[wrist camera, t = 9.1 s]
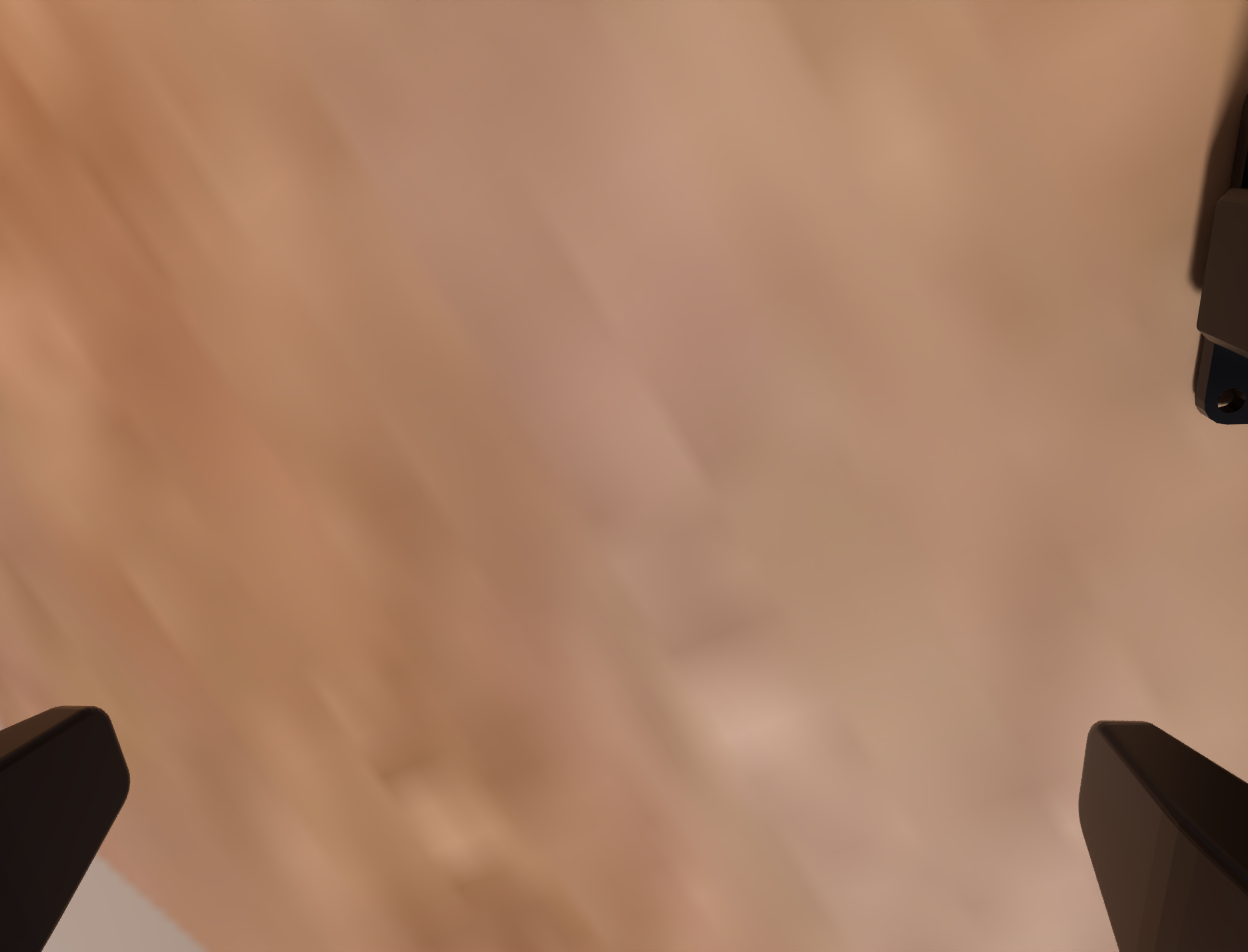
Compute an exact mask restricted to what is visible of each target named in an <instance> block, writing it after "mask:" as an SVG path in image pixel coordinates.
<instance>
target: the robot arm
mask: <svg viewBox="0 0 1248 952" xmlns="http://www.w3.org/2000/svg"><path fill="white" fill-rule="evenodd" d="M1197 329H1198V330H1199V331H1200V332H1201V333H1202V334H1203V335H1204V336H1205V338H1204V344H1203V350H1202V356H1201V362H1200V368H1199V374H1198V380H1197V386H1196V392H1195V405H1196V407H1197V409H1198V410H1199V412H1200V413H1202V414H1203V415H1205V416H1206V417H1208V418H1210V419H1211V420H1213V421H1215V422H1216V423H1220V424H1227V425H1229V424H1248V95H1247V97H1246V100H1245V102H1244V105H1243V110H1242V116H1241V122H1240V128H1239V134H1238V140H1237V146H1236V152H1235V158H1234V164H1233V170H1232V176H1231V182H1230V188H1229V190H1228V191H1227V192H1226V193H1225V194H1224V195H1223V196H1222V197H1221V198H1220V199H1219V200H1218V202H1217V204H1216V208H1215V215H1214V221H1213V227H1212V233H1211V239H1210V245H1209V252H1208V258H1207V264H1206V270H1205V276H1204V282H1203V289H1202V295H1201V301H1200V307H1199V313H1198V319H1197ZM1233 388H1234V389H1235V396H1234V398H1233V400H1232V401H1231V402H1230V403H1229V404H1228V405H1226V406H1222V407H1218V403H1217V401H1218V399H1219V397H1220V395H1221V394H1222V393H1224V392H1225V391H1226V390H1229V389H1233ZM129 787H130V773H129V770H128V767H127V764H126V761H125V758H124V756H123V753H122V750H121V747H120V744H119V742H118V739H117V736H116V733H115V730H114V728H113V725H112V722H111V720H110V718H109V716H108V715H107V714H106V713H105V712H104V711H103V710H102V709H101V708H98V707H95V706H59V707H55V708H52V709H49V710H47V711H45V712H42V713H40V714H38V715H35V716H33V717H31V718H28V719H26V720H24V721H21V722H19V723H17V724H15V725H12V726H10V727H8V728H5V729H3V730H1V731H0V952H42V950H43V948H44V946H45V945H46V943H47V941H48V940H49V938H50V936H51V934H52V933H53V931H54V929H55V927H56V926H57V924H58V922H59V920H60V918H61V917H62V915H63V913H64V911H65V909H66V908H67V906H68V904H69V902H70V900H71V898H72V897H73V895H74V893H75V891H76V890H77V888H78V886H79V884H80V882H81V880H82V879H83V877H84V875H85V873H86V871H87V870H88V868H89V866H90V864H91V862H92V861H93V859H94V857H95V855H96V853H97V852H98V850H99V848H100V846H101V844H102V843H103V841H104V839H105V837H106V835H107V833H108V832H109V830H110V828H111V826H112V824H113V823H114V821H115V819H116V817H117V815H118V814H119V812H120V810H121V808H122V806H123V805H124V803H125V800H126V798H127V795H128V792H129ZM1079 818H1080V824H1081V828H1082V832H1083V836H1084V839H1085V842H1086V845H1087V848H1088V852H1089V855H1090V858H1091V861H1092V865H1093V868H1094V871H1095V874H1096V878H1097V881H1098V884H1099V887H1100V890H1101V894H1102V897H1103V900H1104V903H1105V907H1106V910H1107V913H1108V916H1109V920H1110V923H1111V926H1112V929H1113V932H1114V936H1115V939H1116V942H1117V945H1118V949H1119V952H1248V783H1246V782H1245V781H1243V780H1242V779H1240V778H1238V777H1237V776H1235V775H1234V774H1232V773H1230V772H1229V771H1227V770H1226V769H1224V768H1222V767H1221V766H1219V765H1218V764H1216V763H1214V762H1213V761H1211V760H1210V759H1208V758H1206V757H1205V756H1203V755H1202V754H1200V753H1198V752H1197V751H1195V750H1194V749H1192V748H1190V747H1189V746H1187V745H1186V744H1184V743H1182V742H1181V741H1179V740H1177V739H1176V738H1174V737H1173V736H1171V735H1169V734H1168V733H1166V732H1165V731H1163V730H1161V729H1160V728H1158V727H1156V726H1155V725H1153V724H1151V723H1148V722H1144V721H1098V722H1097V723H1095V724H1094V725H1092V727H1091V729H1090V731H1089V733H1088V737H1087V743H1086V750H1085V757H1084V765H1083V772H1082V779H1081V786H1080V793H1079Z"/></svg>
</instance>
